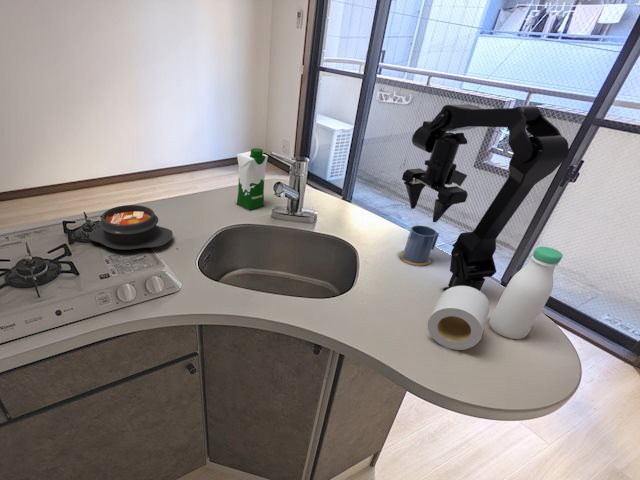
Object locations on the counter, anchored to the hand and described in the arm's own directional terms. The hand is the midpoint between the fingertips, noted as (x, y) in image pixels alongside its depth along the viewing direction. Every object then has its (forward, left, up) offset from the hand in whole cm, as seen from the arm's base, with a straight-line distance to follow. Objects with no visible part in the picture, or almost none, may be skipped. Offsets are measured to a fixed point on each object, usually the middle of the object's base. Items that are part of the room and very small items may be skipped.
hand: (423, 215), depth 110 cm
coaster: (-3, +1, -12) cm, 13 cm away
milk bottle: (-36, +2, -12) cm, 38 cm away
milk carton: (+47, +35, -12) cm, 60 cm away
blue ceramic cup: (-3, 0, -12) cm, 12 cm away
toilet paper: (-34, +16, -12) cm, 39 cm away
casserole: (+30, +79, -12) cm, 85 cm away
